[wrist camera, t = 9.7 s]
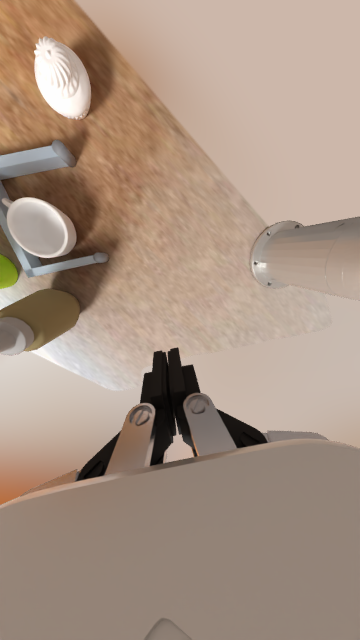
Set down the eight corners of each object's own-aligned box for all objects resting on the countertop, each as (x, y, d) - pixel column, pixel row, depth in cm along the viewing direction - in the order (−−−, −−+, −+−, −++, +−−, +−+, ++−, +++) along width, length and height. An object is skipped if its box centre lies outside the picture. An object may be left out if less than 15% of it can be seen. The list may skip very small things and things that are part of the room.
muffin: (42, 81, 23) (-2, 16, 17) (85, 66, 23) (57, -6, 17) (68, 139, 26) (37, 101, 19) (106, 125, 26) (89, 82, 19)
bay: (73, 153, 26) (61, 138, 23) (110, 261, 32) (104, 261, 29) (-14, 170, 26) (-38, 158, 23) (40, 276, 32) (26, 279, 28)
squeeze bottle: (48, 325, 35) (-53, 391, 18) (35, 285, 32) (-97, 320, 15) (90, 323, 36) (30, 385, 19) (81, 284, 33) (3, 316, 16)
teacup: (91, 231, 30) (78, 226, 25) (68, 266, 32) (52, 269, 27) (32, 184, 27) (4, 168, 22) (10, 225, 29) (-21, 219, 24)
